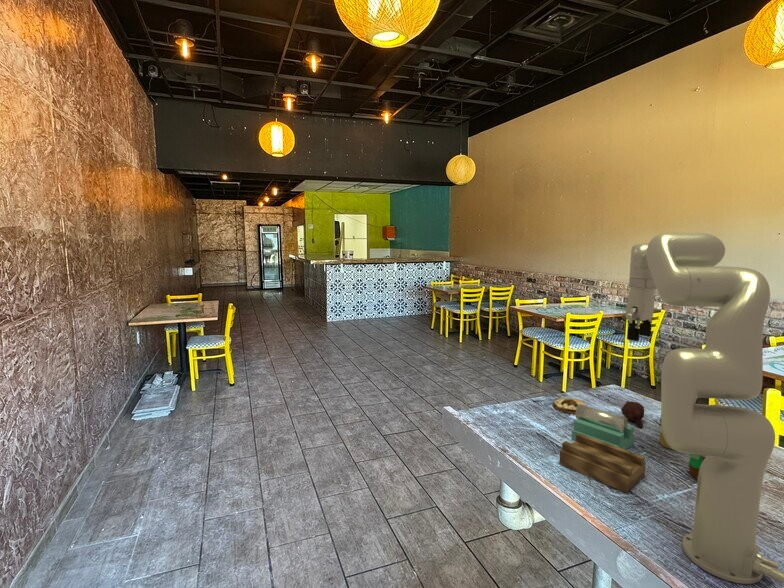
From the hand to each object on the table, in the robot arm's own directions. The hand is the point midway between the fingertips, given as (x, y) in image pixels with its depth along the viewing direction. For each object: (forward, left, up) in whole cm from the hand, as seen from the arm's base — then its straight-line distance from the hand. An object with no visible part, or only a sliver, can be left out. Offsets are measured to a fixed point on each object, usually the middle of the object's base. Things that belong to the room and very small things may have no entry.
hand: (639, 337), depth 129 cm
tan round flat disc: (+25, -8, -34) cm, 43 cm away
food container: (-20, +9, -34) cm, 40 cm away
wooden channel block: (-2, +27, -33) cm, 43 cm away
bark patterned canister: (-10, -4, -34) cm, 35 cm away
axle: (+6, +10, -28) cm, 31 cm away
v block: (+5, +10, -33) cm, 35 cm away
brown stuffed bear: (+5, -15, -34) cm, 37 cm away
